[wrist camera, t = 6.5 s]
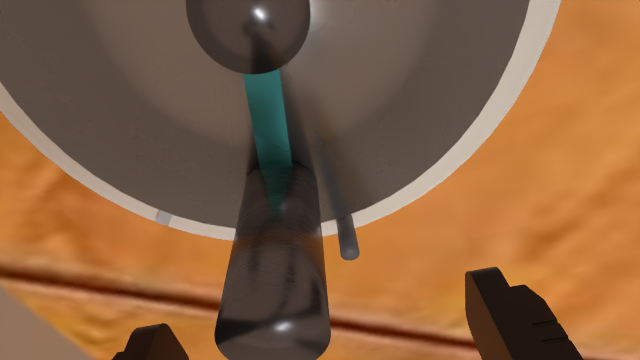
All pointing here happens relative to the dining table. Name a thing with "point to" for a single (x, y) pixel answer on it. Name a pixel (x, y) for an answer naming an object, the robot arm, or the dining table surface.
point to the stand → (500, 102)
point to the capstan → (258, 121)
